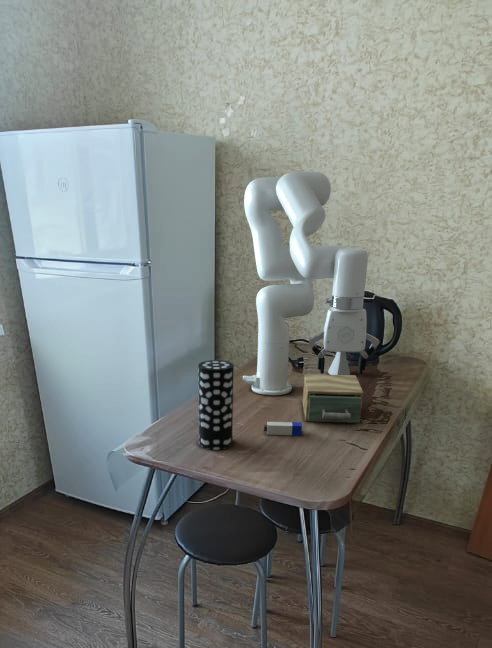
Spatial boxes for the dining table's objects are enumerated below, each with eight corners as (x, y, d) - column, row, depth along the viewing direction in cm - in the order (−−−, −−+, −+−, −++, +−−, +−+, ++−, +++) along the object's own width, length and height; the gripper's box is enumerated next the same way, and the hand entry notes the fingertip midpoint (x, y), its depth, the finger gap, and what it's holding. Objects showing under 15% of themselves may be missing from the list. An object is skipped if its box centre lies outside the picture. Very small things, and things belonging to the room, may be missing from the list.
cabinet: (359, 422, 156) (363, 392, 152) (305, 421, 157) (307, 390, 154) (352, 403, 170) (355, 375, 166) (302, 402, 171) (304, 374, 167)
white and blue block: (263, 434, 149) (264, 424, 148) (263, 430, 152) (264, 421, 150) (301, 435, 148) (301, 426, 147) (300, 431, 151) (301, 422, 149)
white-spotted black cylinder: (230, 436, 148) (232, 359, 139) (233, 449, 141) (234, 369, 132) (198, 436, 148) (197, 360, 139) (199, 450, 140) (198, 370, 131)
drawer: (361, 430, 149) (364, 405, 146) (309, 428, 150) (311, 403, 147) (352, 404, 167) (354, 381, 164) (305, 403, 168) (307, 380, 165)
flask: (323, 372, 198) (326, 343, 194) (341, 369, 201) (344, 341, 196) (336, 378, 192) (339, 348, 188) (354, 375, 195) (357, 346, 191)
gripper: (312, 306, 137) (307, 376, 144) (386, 306, 135) (377, 377, 143) (310, 300, 143) (305, 368, 151) (380, 301, 142) (372, 369, 150)
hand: (340, 372), depth 147 cm, fingers open, 9 cm apart
